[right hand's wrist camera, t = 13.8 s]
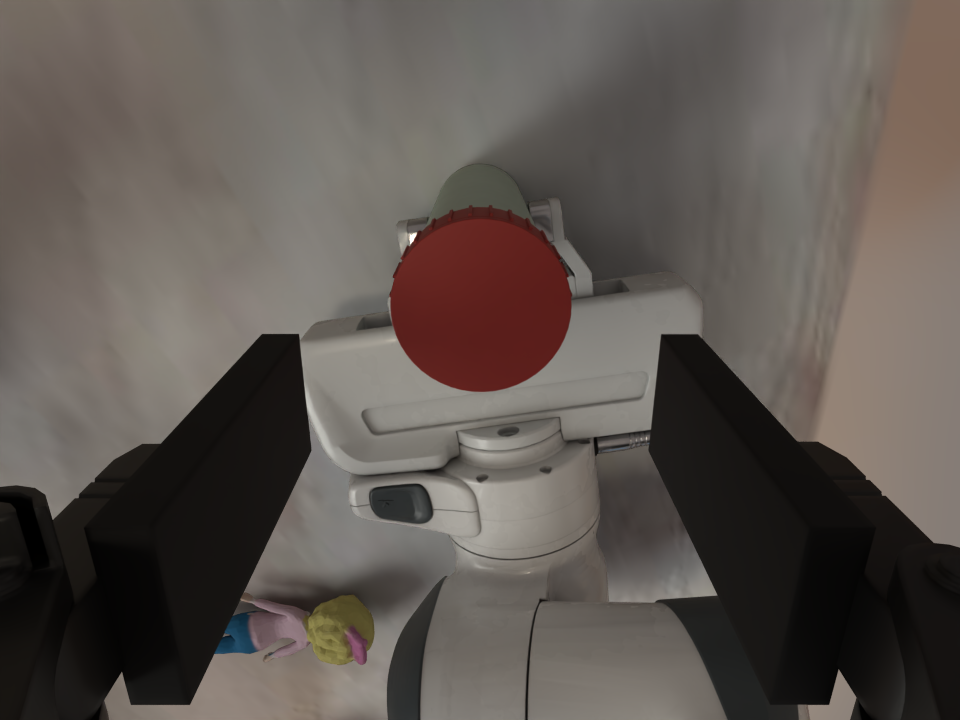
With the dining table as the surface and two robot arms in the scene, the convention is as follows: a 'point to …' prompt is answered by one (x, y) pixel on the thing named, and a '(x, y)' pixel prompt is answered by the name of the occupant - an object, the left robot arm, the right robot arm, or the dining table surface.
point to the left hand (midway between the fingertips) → (476, 210)
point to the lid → (480, 300)
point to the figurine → (303, 630)
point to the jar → (480, 192)
